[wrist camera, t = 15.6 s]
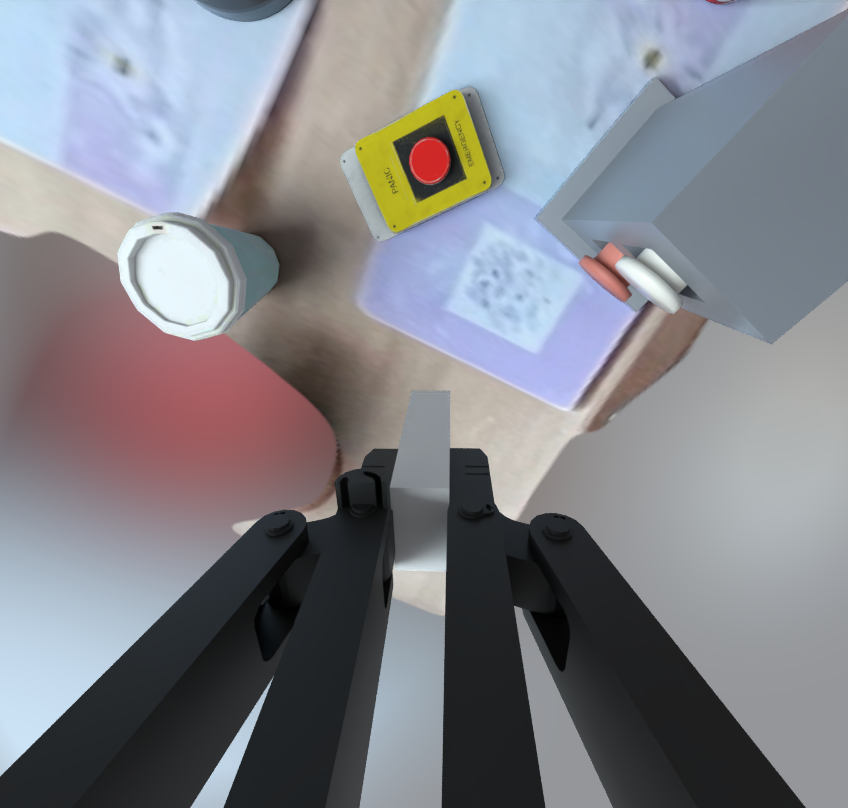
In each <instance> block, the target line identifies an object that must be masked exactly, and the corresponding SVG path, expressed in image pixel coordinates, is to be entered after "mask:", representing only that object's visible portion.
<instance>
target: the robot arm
mask: <svg viewBox="0 0 848 808" xmlns="http://www.w3.org/2000/svg"><path fill="white" fill-rule="evenodd" d="M194 1H195V2H197V3H198V4H199V5H200V6H202V7H203V8H205V9H206V10H208V11H210V12H211V13H213V14H215V15H218V16H220V17H223V18H226V19H229V20H234V21H255V20H260V19H263V18H266V17H269V16H271V15H273V14H275V13H277V12H278V11H280V10H281V9H282V8H284V7H285V6H286V5H287V4H288V3H289V2H290V1H291V0H194ZM335 489H336V497H337V505H338V510H337V513H336V515H334V516H331V517H329V518H325V519H322V520H317V521H312V522H306V517H305V516H304V515H303V514H302V513H300V512H297V511H295V510H281V511H276V512H273V513H270V514H268V515H266V516H264V517H262V518H261V519H260V520H258V521H257V522H256V523H255V524H254V525H253V526H252V527H251V528H250V529H249V530H248V531H247V532H246V533H245V534H244V535H243V536H242V537H241V538H240V539H239V540H238V541H237V542H236V543H235V544H234V545H233V546H232V547H231V548H230V549H229V550H228V551H227V552H226V553H225V554H224V555H223V556H222V557H221V558H220V559H219V560H218V561H217V562H216V563H215V564H214V565H213V566H212V567H211V568H210V569H209V570H208V571H207V572H206V573H205V574H204V575H203V576H202V577H201V578H200V579H199V580H198V581H197V582H196V583H195V584H194V585H193V586H192V587H191V588H190V589H189V590H188V591H187V592H186V593H184V594H183V595H182V597H181V598H179V599H178V601H177V602H175V604H173V605H172V607H170V608H169V610H167V611H166V612H165V614H164V615H162V616H161V617H160V619H158V620H157V621H156V622H155V623H154V624H153V625H152V626H151V627H150V628H149V629H148V630H147V631H146V632H145V633H144V634H143V635H142V636H141V637H140V638H139V639H138V640H137V641H136V642H135V643H134V644H133V645H132V646H131V647H130V648H129V649H128V650H127V651H126V652H125V653H124V654H123V655H122V656H121V657H120V658H119V659H118V660H117V661H116V662H115V663H114V664H113V665H112V666H111V667H110V668H109V669H108V670H107V671H106V672H105V673H104V674H103V675H102V676H101V677H100V678H99V679H98V680H97V681H96V682H95V683H94V684H93V685H92V686H91V687H90V688H89V689H88V690H87V691H86V692H85V693H84V694H83V695H82V696H81V697H80V698H79V699H78V700H77V701H76V702H75V703H74V704H73V705H72V706H71V707H70V708H69V709H68V710H67V711H66V712H65V713H64V714H63V715H62V716H61V717H60V718H59V719H58V720H57V721H56V722H55V723H54V724H53V725H52V726H51V727H50V728H49V729H48V730H47V731H46V732H45V733H44V734H43V735H42V736H41V737H40V738H39V739H38V740H37V741H36V742H35V743H34V744H33V745H32V746H31V747H30V748H29V749H28V750H27V751H26V752H25V753H24V754H23V755H21V757H19V758H18V760H16V761H15V762H14V763H13V764H12V765H11V767H9V768H8V770H6V771H5V772H4V773H3V774H2V775H1V776H0V808H190V807H191V806H192V804H193V802H194V801H195V799H196V798H197V796H198V794H199V793H200V791H201V790H202V788H203V786H204V785H205V783H206V782H207V780H208V779H209V777H210V776H211V774H212V772H213V771H214V769H215V768H216V766H217V765H218V763H219V761H220V760H221V758H222V757H223V755H224V754H225V752H226V750H227V749H228V747H229V746H230V744H231V742H232V741H233V739H234V738H235V736H236V735H237V733H238V731H239V730H240V728H241V727H242V725H243V723H244V722H245V720H246V719H247V717H248V716H249V714H250V713H251V711H252V709H253V708H254V706H255V705H256V703H257V701H258V700H259V698H260V697H261V695H262V694H263V692H264V690H265V689H266V687H267V686H268V684H269V682H270V681H271V679H272V678H273V680H272V683H271V685H270V688H269V690H268V693H267V696H266V698H265V701H264V703H263V706H262V709H261V711H260V714H259V716H258V720H257V722H256V724H255V727H254V730H253V732H252V735H251V738H250V740H249V743H248V745H247V748H246V750H245V753H244V756H243V758H242V761H241V764H240V766H239V769H238V771H237V774H236V777H235V779H234V782H233V784H232V787H231V790H230V792H229V795H228V797H227V800H226V803H225V805H224V808H359V806H360V799H361V793H362V786H363V780H364V773H365V767H366V760H367V754H368V747H369V741H370V734H371V728H372V721H373V714H374V708H375V701H376V695H377V689H378V682H379V676H380V669H381V663H382V656H383V649H384V643H385V637H386V630H387V624H388V616H389V610H390V604H391V597H392V591H393V573H392V570H393V564H394V562H395V570H406V571H444V572H446V606H445V659H444V715H443V717H444V718H443V767H442V768H443V771H442V808H545V802H544V796H543V790H542V783H541V776H540V770H539V764H538V757H537V751H536V744H535V739H534V732H533V725H532V719H531V713H530V706H529V700H528V694H527V687H526V681H525V674H524V668H523V662H522V655H521V649H520V643H519V636H518V630H517V623H516V617H515V610H514V606H517V607H520V608H522V610H523V614H524V617H525V619H526V621H527V623H528V626H529V628H530V630H531V632H532V634H533V636H534V639H535V641H536V643H537V645H538V647H539V649H540V651H541V654H542V656H543V658H544V660H545V662H546V664H547V666H548V669H549V671H550V673H551V675H552V677H553V679H554V681H555V683H556V686H557V688H558V690H559V692H560V694H561V697H562V699H563V701H564V703H565V705H566V707H567V709H568V712H569V714H570V716H571V718H572V720H573V722H574V725H575V727H576V729H577V731H578V733H579V735H580V737H581V740H582V742H583V744H584V746H585V748H586V750H587V752H588V755H589V757H590V759H591V761H592V763H593V765H594V768H595V770H596V772H597V774H598V776H599V778H600V780H601V783H602V785H603V787H604V788H605V791H606V793H607V795H608V798H609V800H610V802H611V804H612V806H613V808H805V806H804V805H803V804H802V803H801V801H800V800H799V799H798V797H797V796H796V795H795V794H794V792H793V791H792V790H791V789H790V787H789V786H788V785H787V783H786V782H785V781H784V780H783V778H782V777H781V776H780V775H779V773H778V772H777V771H776V770H775V768H774V767H773V766H772V765H771V763H770V762H769V761H768V760H767V758H766V757H765V756H764V755H763V754H762V752H761V751H760V749H759V748H758V747H757V746H756V744H755V743H754V742H753V741H752V739H751V738H750V737H749V736H748V735H747V733H746V732H745V731H744V729H743V728H742V727H741V726H740V724H739V723H738V722H737V721H736V719H735V718H734V717H733V715H732V714H731V713H730V712H729V710H728V709H727V708H726V707H725V705H724V704H723V703H722V701H721V700H720V699H719V698H718V696H717V695H716V694H715V693H714V691H713V690H712V689H711V688H710V686H709V685H708V684H707V683H706V681H705V680H704V679H703V677H702V676H701V675H700V674H699V673H698V671H697V670H696V669H695V667H694V666H693V665H692V664H691V662H690V661H689V660H688V658H687V657H686V656H685V655H684V653H683V652H682V651H681V650H680V648H679V647H678V646H677V645H676V644H675V642H674V641H673V640H672V638H671V637H670V636H669V634H668V633H667V632H666V631H665V629H664V628H663V627H662V626H661V624H660V623H659V622H658V621H657V619H656V618H655V617H654V616H653V615H652V613H651V612H650V611H649V609H648V608H647V607H646V606H645V604H644V603H643V602H642V600H641V599H640V598H639V597H638V595H637V594H636V593H635V592H634V591H633V589H632V588H631V587H630V585H629V584H628V583H627V581H626V580H625V579H624V578H623V576H622V575H621V574H620V573H619V571H618V570H617V569H616V568H615V566H614V565H613V564H612V563H611V561H610V560H609V559H608V557H607V556H606V555H605V554H604V552H603V551H602V550H601V549H600V547H599V546H598V545H597V544H596V542H595V541H594V540H593V539H592V538H591V536H590V535H589V534H588V532H587V531H586V530H585V528H584V527H583V526H582V525H581V524H579V523H578V522H577V521H576V520H574V519H572V518H570V517H568V516H565V515H561V514H557V513H545V514H542V515H538V516H536V517H535V518H534V519H533V520H531V523H530V525H529V524H525V523H521V522H517V521H514V520H511V519H509V518H507V517H505V516H504V515H503V514H501V513H500V512H499V510H498V508H497V506H496V505H495V503H494V498H493V491H492V484H491V478H490V471H489V464H488V458H487V456H486V455H485V454H484V453H483V451H482V450H481V449H472V448H450V391H412V392H411V396H410V400H409V405H408V409H407V414H406V418H405V422H404V427H403V431H402V436H401V440H400V444H399V449H373V450H372V451H371V452H370V453H369V454H368V455H366V456H365V458H364V461H363V464H362V467H361V469H355V470H352V471H349V472H346V473H344V474H343V475H341V476H339V477H338V479H337V480H336V481H335ZM273 676H274V677H273Z"/></svg>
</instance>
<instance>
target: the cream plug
mask: <svg viewBox="0 0 848 808" xmlns="http://www.w3.org/2000/svg"><path fill="white" fill-rule="evenodd" d="M615 267H616V269H617V270H618V272H619V273H620V274H621V275H622V276H623V277H624V279H625V280H626V281H627V282H628V283H630V284H631V285H632V286H633V287H634V288H635V289H636V290H637V291H638V292H640V293H641V294H642V295H643V296H644V297H646V298H647V299H648V300H649V301H651V302H652V303H654V304H655V305H656V306H658V307H659V308H661V309H663V310H664V311H666V312H668V313H670V314H674V313H675V312H676V311H677V310H678V309H679V308H680V307H681V306H682V305H683V301H682V299H681V298H680V297H679V295H678V294H679V293H680V292H681V291H682V290H683V289H684V288H685V287H686V286H687V284H686V283H685V282H684V281H683V280H682V279H681V278H680V277H679V276H678V275H677V274H676V273H675V272H674V271H673V270H672V269H671V268H670V267H669V266H668V265H667V264H666V263H665V262H664V261H663V260H662V259H661V258H660V257H659V256H658V255H657V254H656V253H655V252H654V251H653V250H652V249H647V248H645V249H644V250H643V252H642V253H641V254H640V255H639V256H638V257H637V258H636V259H634V258H632V257H630V256H627V255H624V256H623V257H622V258H621V259H620V260H619V261H618V262H617V263H616V264H615Z"/></svg>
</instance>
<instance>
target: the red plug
mask: <svg viewBox="0 0 848 808" xmlns="http://www.w3.org/2000/svg"><path fill="white" fill-rule="evenodd" d="M623 256H624V255H623V254H622V253H621V252H620V251H619V250H618V249H617V248H616V247H615V246H614V245H613V244H612V243H611V242H609V243H608V244H607V245H606V246H605V247H604V248H603V249H602V250H601V251H600V253H599V254H598V255H597V256H596V257H595V258H594V259H593V258H592V257H590V256H588V255H585V256H584V257H583V258H582V259H581V260H580V261H579V264H580V266H581V267H582V268H583V269H584V270H585V271H586V272H587V274H589V275H590V276H591V277H592V278H593V279H594V280H595V281H596V282H597V283H598V284H599V285H601V286H602V287H603V288H604V289H605V290H606V291H608V292H609V293H610V294H612V295H613V296H614V297H616V298H617V299H619V300H620V301H622V302H626V301H627V300H628V299H629V298H630V297H631V296H632V293H631V292H630V291H629V289H628V288H627V287H628V286H629V285H630V283H628V282H627V281H626V280H625V279H624V277H623V276H622V275H621V274H620V273H619V272H618V270H617V269H616V267H615V264H616V263H617V262H618V261H619V260H620V259H621V258H622V257H623Z"/></svg>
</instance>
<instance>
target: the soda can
mask: <svg viewBox="0 0 848 808" xmlns="http://www.w3.org/2000/svg"><path fill="white" fill-rule="evenodd" d="M706 1H708V2H710V3H714V4H729V3H732V2H735V1H737V0H706Z"/></svg>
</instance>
